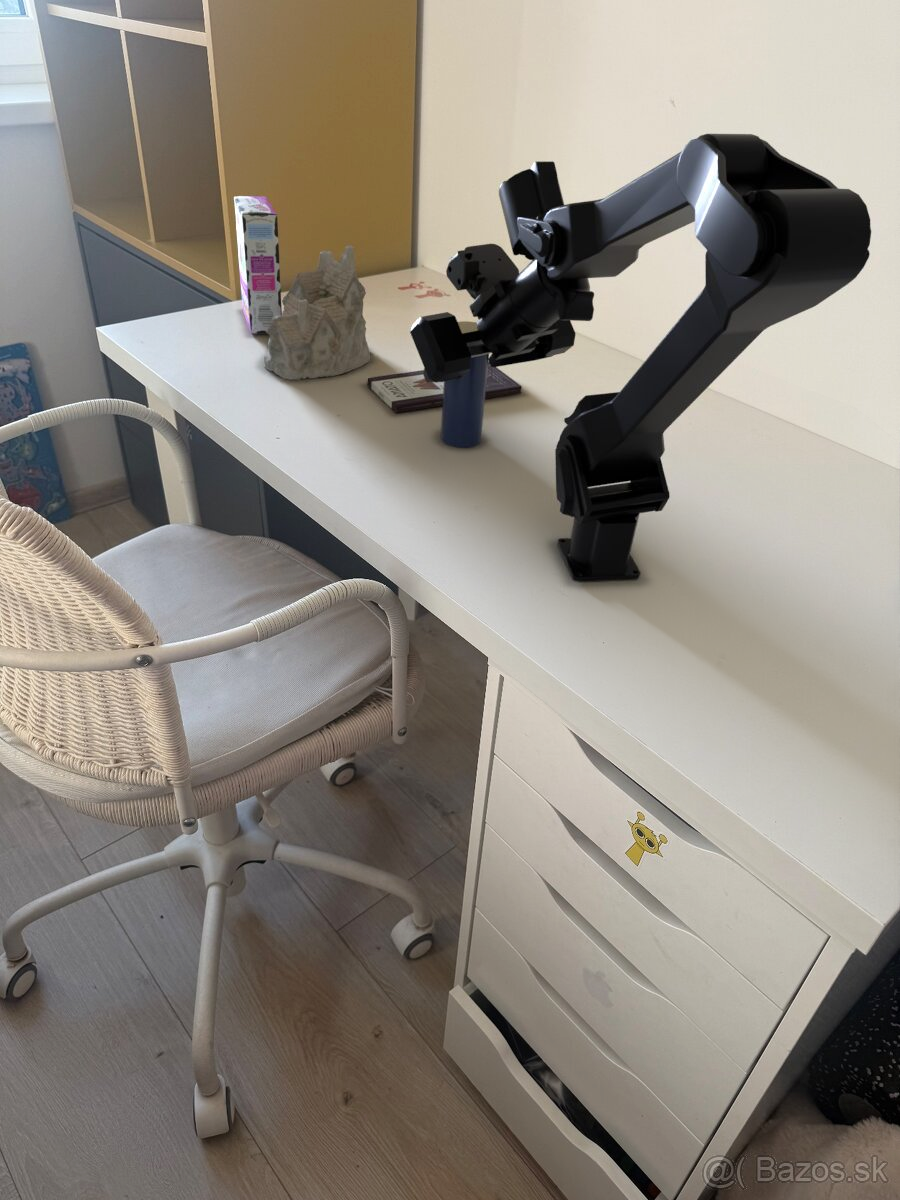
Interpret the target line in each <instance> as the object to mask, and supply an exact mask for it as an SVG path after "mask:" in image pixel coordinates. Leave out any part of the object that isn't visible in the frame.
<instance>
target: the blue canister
mask: <svg viewBox="0 0 900 1200" xmlns="http://www.w3.org/2000/svg"><path fill="white" fill-rule="evenodd" d="M457 322H458V324H459V327H460V329H461V332H462V333H467V332H473V331H478V329H477V322H478V321H476V322H475V321H467V320H465V321H462V320H461V321H457ZM479 346H480V345H479ZM470 348H471V347H470ZM489 357H490V354H485V355H481V356H476V357H472V358H471V369H470V370H469V371H468V372H466V373H465V374H463V375H461V376H462V377H461V378H457V379H453V380H449V381H445V382H444V388H443V404H442V406H441V422H440V423H441V424H440V439H441V441H442V442H443V444H446V445H447V446H450V447H455V448H461V449H463V448H472V447H475V446H478V445H479V444H480V443H481V441H482V434H483V425H484V423H483V422H484V413H485V412H484V411H485V402H486V399H485V393H486V382H487V371H488V362H489Z"/></svg>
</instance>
